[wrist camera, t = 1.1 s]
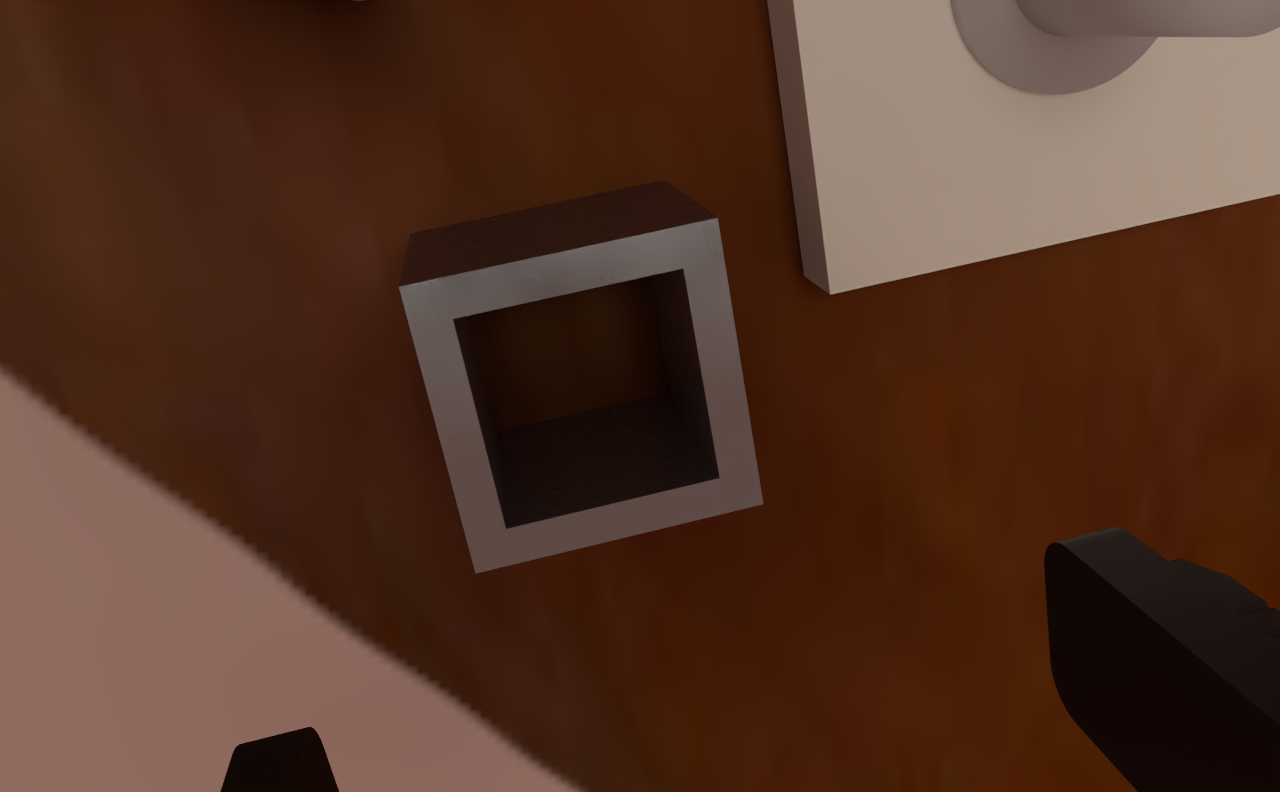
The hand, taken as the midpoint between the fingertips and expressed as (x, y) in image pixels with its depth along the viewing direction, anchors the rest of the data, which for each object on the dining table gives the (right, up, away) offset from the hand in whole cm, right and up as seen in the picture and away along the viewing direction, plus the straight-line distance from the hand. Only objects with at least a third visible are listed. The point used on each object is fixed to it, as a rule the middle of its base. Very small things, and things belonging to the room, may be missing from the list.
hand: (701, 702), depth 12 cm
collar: (-2, +5, +14) cm, 15 cm away
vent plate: (+8, +13, +14) cm, 20 cm away
